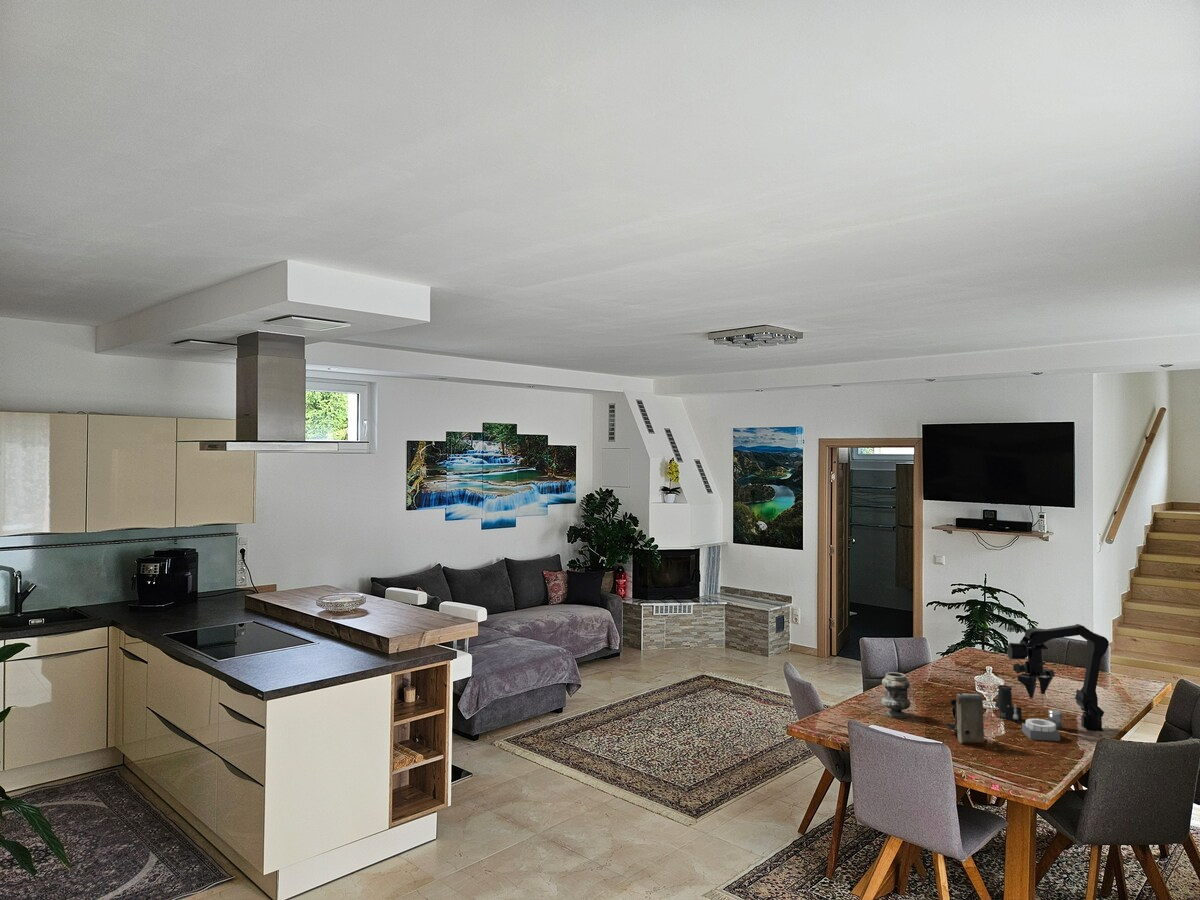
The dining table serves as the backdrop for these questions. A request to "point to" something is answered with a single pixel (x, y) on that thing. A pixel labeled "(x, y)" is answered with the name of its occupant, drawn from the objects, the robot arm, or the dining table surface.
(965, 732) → the vintage camera
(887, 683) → the grey stone urn
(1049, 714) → the door knob
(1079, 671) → the dining table surface
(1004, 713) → the scope
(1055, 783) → the dining table surface
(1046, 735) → the segmented white collar
